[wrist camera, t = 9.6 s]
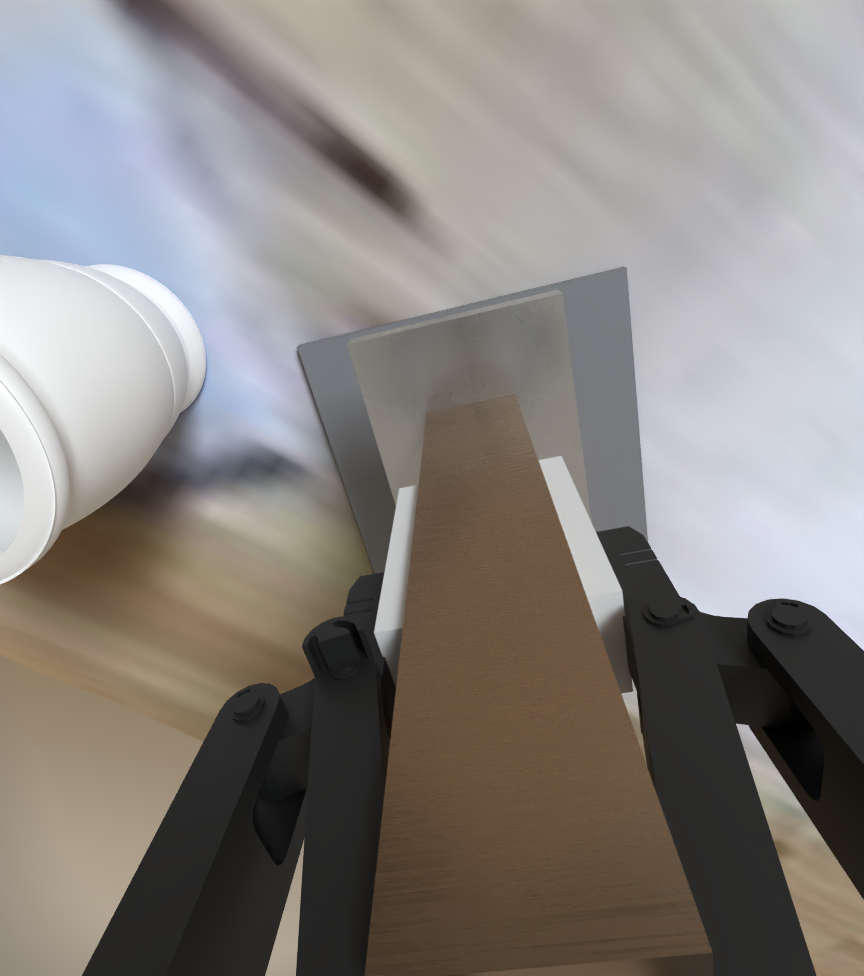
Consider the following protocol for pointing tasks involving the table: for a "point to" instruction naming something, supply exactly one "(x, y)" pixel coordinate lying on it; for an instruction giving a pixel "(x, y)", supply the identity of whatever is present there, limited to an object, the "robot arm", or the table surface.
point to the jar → (83, 392)
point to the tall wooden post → (507, 682)
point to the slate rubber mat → (599, 395)
